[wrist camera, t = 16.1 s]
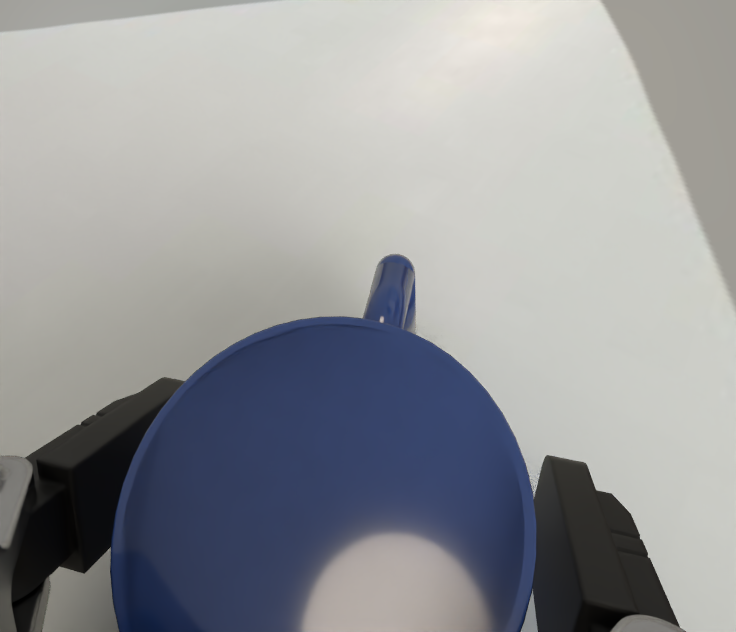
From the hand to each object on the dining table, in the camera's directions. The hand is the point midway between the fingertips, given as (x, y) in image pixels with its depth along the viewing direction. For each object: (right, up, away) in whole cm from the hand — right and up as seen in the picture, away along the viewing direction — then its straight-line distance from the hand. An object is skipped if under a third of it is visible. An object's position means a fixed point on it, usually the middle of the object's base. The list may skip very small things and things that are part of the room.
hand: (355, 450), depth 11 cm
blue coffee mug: (+1, -2, +4) cm, 4 cm away
